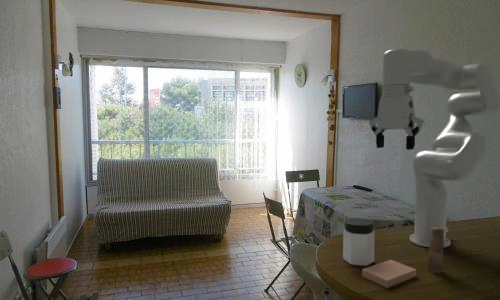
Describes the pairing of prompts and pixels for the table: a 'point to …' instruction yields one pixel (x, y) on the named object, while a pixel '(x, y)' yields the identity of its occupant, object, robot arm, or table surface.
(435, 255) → the stick
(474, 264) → the table surface
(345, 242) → the jar
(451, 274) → the table surface
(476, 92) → the robot arm
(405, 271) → the tile
